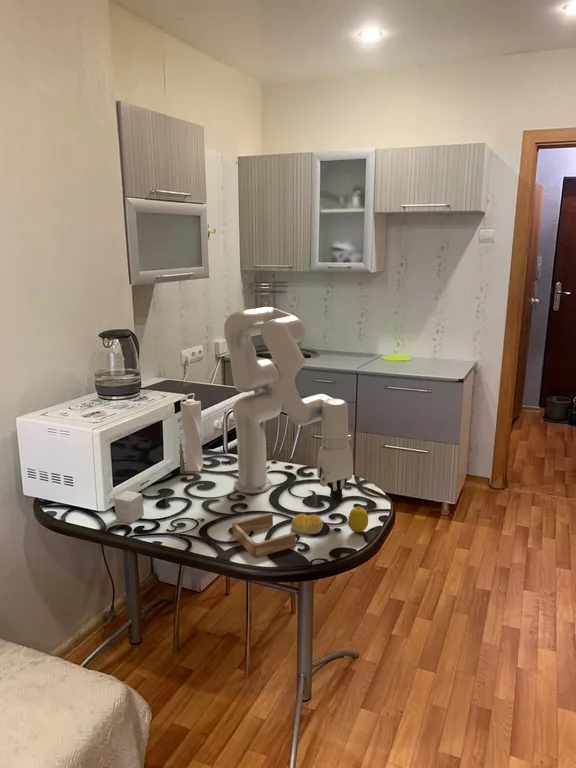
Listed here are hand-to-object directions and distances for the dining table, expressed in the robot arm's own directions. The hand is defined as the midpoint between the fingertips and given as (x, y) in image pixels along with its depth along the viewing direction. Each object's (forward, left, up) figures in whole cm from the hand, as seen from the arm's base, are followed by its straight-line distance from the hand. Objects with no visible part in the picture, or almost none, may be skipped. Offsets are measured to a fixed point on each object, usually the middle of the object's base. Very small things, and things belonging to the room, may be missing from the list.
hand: (336, 500), depth 174 cm
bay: (-1, -24, -6) cm, 25 cm away
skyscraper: (-60, -23, -7) cm, 64 cm away
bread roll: (-1, -10, -7) cm, 12 cm away
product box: (-34, -53, -7) cm, 63 cm away
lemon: (+9, +1, -7) cm, 11 cm away
